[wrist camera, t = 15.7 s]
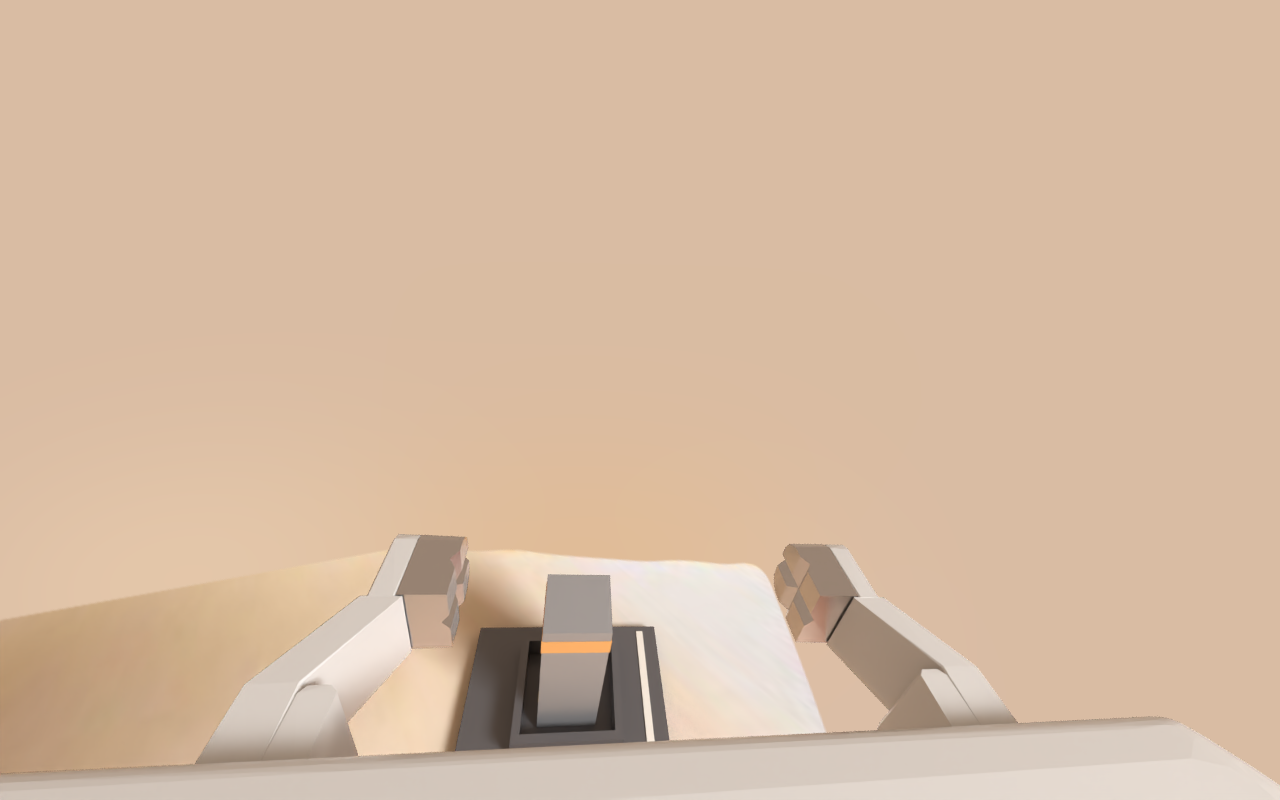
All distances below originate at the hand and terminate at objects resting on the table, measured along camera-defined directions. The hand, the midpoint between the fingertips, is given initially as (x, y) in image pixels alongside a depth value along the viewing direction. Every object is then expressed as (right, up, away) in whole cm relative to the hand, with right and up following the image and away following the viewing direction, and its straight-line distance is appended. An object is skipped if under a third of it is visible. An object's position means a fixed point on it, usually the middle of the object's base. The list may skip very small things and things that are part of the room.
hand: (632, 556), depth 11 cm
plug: (-6, -20, +26) cm, 33 cm away
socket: (-6, -21, +26) cm, 34 cm away
